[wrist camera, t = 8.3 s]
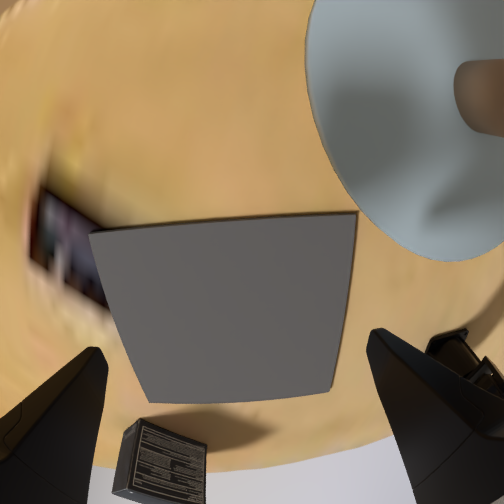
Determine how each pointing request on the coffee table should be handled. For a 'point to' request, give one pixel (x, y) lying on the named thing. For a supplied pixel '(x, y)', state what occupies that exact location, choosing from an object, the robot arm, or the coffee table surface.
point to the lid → (414, 116)
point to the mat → (229, 304)
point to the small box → (160, 467)
